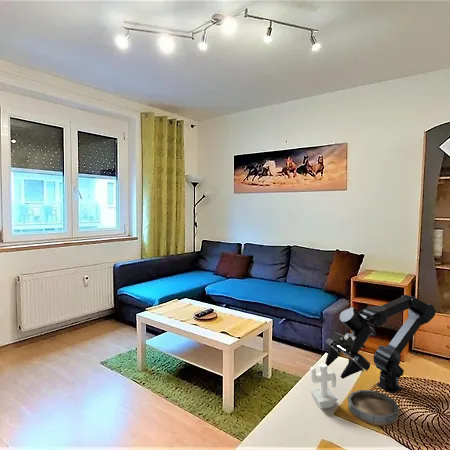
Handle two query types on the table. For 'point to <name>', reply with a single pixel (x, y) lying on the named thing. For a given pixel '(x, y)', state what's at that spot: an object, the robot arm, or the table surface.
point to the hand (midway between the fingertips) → (333, 371)
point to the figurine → (323, 387)
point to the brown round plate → (373, 408)
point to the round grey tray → (371, 417)
